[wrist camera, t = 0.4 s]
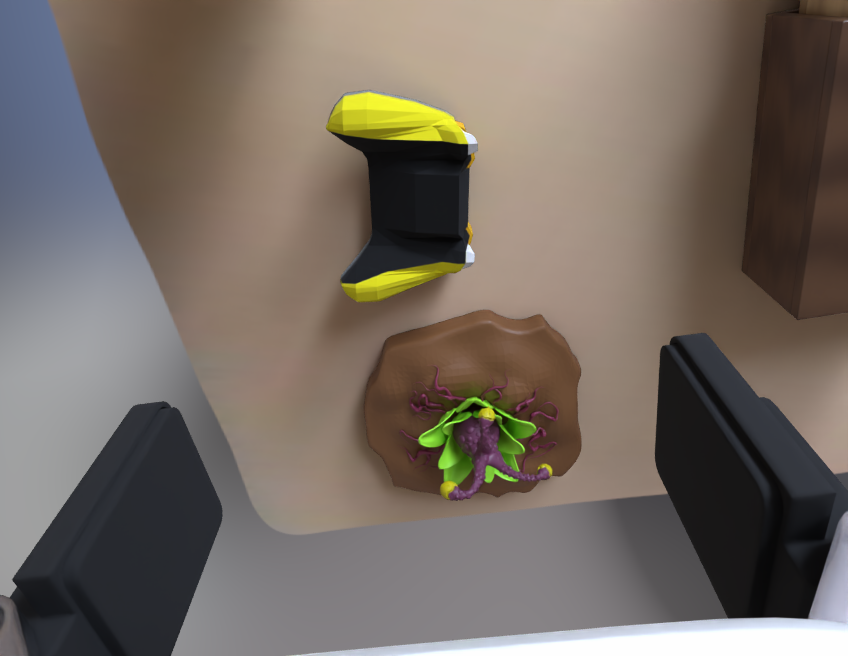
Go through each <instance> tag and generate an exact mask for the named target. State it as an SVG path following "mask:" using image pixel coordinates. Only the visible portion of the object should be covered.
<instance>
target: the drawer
mask: <svg viewBox="0 0 848 656" xmlns="http://www.w3.org/2000/svg"><path fill="white" fill-rule="evenodd" d="M799 14H811V15H824V16H838V17H848V0H800V7H799Z"/></svg>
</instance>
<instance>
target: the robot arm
mask: <svg viewBox="0 0 848 656" xmlns="http://www.w3.org/2000/svg"><path fill="white" fill-rule="evenodd" d="M655 462H656V467H657V470H658V473H659V475H660V478H661V480H662V482H663V484H664V486H665V488H666V490H667V492H668V494H669V496H670V498H671V500H672V502H673V505H674V507H675V509H676V511H677V513H678V515H679V517H680V519H681V521H682V523H683V525H684V527H685V529H686V532H687V534H688V536H689V538H690V540H691V542H692V544H693V546H694V548H695V550H696V552H697V554H698V556H699V558H700V561H701V563H702V565H703V566H704V569H705V571H706V573H707V575H708V577H709V579H710V581H711V583H712V586H713V588H714V590H715V592H716V594H717V596H718V598H719V600H720V602H721V604H722V606H723V608H724V610H725V613H726V615H727V617H728V619H712V620H698V621H684V622H669V623H655V624H641V625H626V626H613V627H603V628H591V629H579V630H569V631H556V632H545V633H534V634H533V633H532V634H521V635H509V636H497V637H487V638H474V639H463V640H452V641H441V642H430V643H419V644H408V645H397V646H387V647H375V648H364V649H354V650H343V651H333V652H321V653H311V654H300V655H290V656H848V490H847V489H846V488H845V487H844V486H843V485H842V484H841V482H840V481H839V480H838V479H837V477H836V476H835V475H834V474H833V473H832V471H831V470H830V469H829V468H828V467H827V465H826V464H825V463H824V462H823V461H822V459H821V458H820V457H819V456H818V455H817V454H816V452H815V451H814V450H813V449H812V448H811V446H810V445H809V444H808V443H807V442H806V440H805V439H804V438H803V437H802V436H801V435H800V433H799V432H798V431H797V430H796V429H795V427H794V426H793V425H792V424H791V423H790V421H789V420H788V419H787V418H786V417H785V415H784V414H783V413H782V412H781V411H780V410H779V408H778V407H777V406H776V405H775V404H774V403H773V402H772V401H771V400H770V399H768V398H765V397H760V398H759V397H758V396H757V394H756V393H755V392H754V391H753V389H752V388H751V387H750V386H749V385H748V383H747V382H746V381H745V380H744V378H743V377H742V376H741V375H740V373H739V372H738V371H737V370H736V369H735V367H734V366H733V365H732V364H731V362H730V361H729V360H728V359H727V358H726V356H725V355H724V354H723V353H722V351H721V350H720V349H719V348H718V347H717V345H716V344H715V343H714V342H713V340H712V339H711V338H710V337H709V336H708V335H707V334H706V333H698V334H691V335H683V336H675V337H673V338H671V341H670V345H665V346H662V348H661V351H660V367H659V386H658V405H657V424H656V443H655ZM221 521H222V506H221V503H220V500H219V498H218V496H217V494H216V491H215V489H214V487H213V485H212V483H211V480H210V478H209V476H208V473H207V471H206V469H205V467H204V464H203V462H202V460H201V458H200V455H199V453H198V451H197V449H196V446H195V445H194V442H193V440H192V438H191V435H190V433H189V431H188V428H187V426H186V424H185V422H184V420H183V417H182V415H181V413H180V411H179V410H178V409H177V408H174V407H173V408H171V406H170V405H169V404H168V403H167V402H164V401H163V402H155V403H147V404H139V405H135V406H133V407H132V408H131V409H130V411H129V412H128V414H127V415H126V417H125V418H124V419H123V421H122V422H121V424H120V425H119V427H118V428H117V429H116V431H115V432H114V434H113V435H112V437H111V438H110V439H109V441H108V442H107V444H106V445H105V447H104V448H103V450H102V451H101V453H100V454H99V455H98V457H97V458H96V460H95V461H94V462H93V464H92V465H91V467H90V468H89V470H88V471H87V473H86V474H85V475H84V477H83V478H82V480H81V481H80V483H79V484H78V486H77V487H76V488H75V490H74V491H73V493H72V494H71V496H70V497H69V499H68V500H67V501H66V503H65V504H64V506H63V507H62V509H61V510H60V512H59V513H58V514H57V516H56V517H55V519H54V520H53V521H52V523H51V524H50V526H49V527H48V529H47V530H46V532H45V533H44V534H43V536H42V537H41V539H40V540H39V542H38V543H37V544H36V546H35V547H34V549H33V550H32V552H31V553H30V555H29V556H28V557H27V559H26V560H25V562H24V563H23V565H22V566H21V568H20V569H19V570H18V572H17V573H16V575H15V576H14V578H13V582H14V583H15V584H16V585H17V588H16V589H15V591H14V592H13V594H12V595H11V597H10V598H8V597H6V596H3V595H0V656H171V653H172V651H173V648H174V646H175V643H176V641H177V638H178V635H179V633H180V630H181V627H182V625H183V622H184V619H185V616H186V614H187V612H188V609H189V606H190V604H191V601H192V598H193V596H194V593H195V590H196V587H197V585H198V582H199V580H200V577H201V575H202V572H203V569H204V567H205V564H206V561H207V559H208V556H209V553H210V550H211V548H212V545H213V543H214V540H215V537H216V535H217V532H218V530H219V527H220V524H221Z"/></svg>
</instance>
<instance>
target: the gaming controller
mask: <svg viewBox="0 0 848 656" xmlns="http://www.w3.org/2000/svg"><path fill="white" fill-rule="evenodd" d="M326 129H327V130H328V131H329V132H331V133H332V134H334V135H335V136H337V137H338V138H339V139H341V140H342V141H344V142H345V143H347V144H349V145H351V146H352V147H354V148H356V149H358V150H360V151H362V152H363V154H364V155H365V157H366V158H367V160H368V168H369V184H370V201H371V217H372V234H371V237H370V239H369V241H368V242H367V243H366V245H365V246H364V248H363V249H362V250H361V252H360V253H359V254H358V256H357V257H356V258H355V259H354V260H353V262H352V263H351V264H350V265H349V267H348V268H347V269H346V270H345V271H344V273H343V274H342V275H341V279H340V282H341V285H342V287H343V289H344V291H345V293H346V294H347V295H348V296H349V297H351V298H352V299H354V300H355V301H357V302H378V301H382V300H384V299H387V298H389V297H391V296H394V295H396V294H398V293H401V292H403V291H405V290H408V289H410V288H412V287H415V286H417V285H420V284H422V283H425V282H427V281H430V280H432V279H435V278H438V277H440V276H443V275H445V274H447V273H457V272H459V271H461V269H464V268H467V267H470V266H471V265H472V264H473V263H474V257H475V254H474V252H473V251H472V249H471V248H470V246H469V245H470V243H471V240H472V236H473V233H472V227H471V225H470V224H469V222H468V198H469V168H470V166H471V164H472V163H473V161H474V159H475V156H474V152H476V151H478V143H477V141H476V139H475V137H474V136H473V135H471V134H468V133H467V132H466V130H465V127H464V125H463V123H460V122H457V121H455V119H454V117H453V115H451V114H450V113H448V112H446V111H445V110H442V109H439V108H437V107H434V106H431V105H428V104H426V103H423V102H420V101H417V100H414V99H410V98H405V97H400V96H396V95H391V94H386V93H382V92H377V91H372V90H365V91H358V92H350V93H345V94H344V95H343V96H342V97H341V98H340V99H339V101H338V102H337V103H336V104H335V105H334V107H333V110H332V112H331V114H330V117H329V120H328V124H327V126H326Z"/></svg>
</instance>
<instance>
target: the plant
mask: <svg viewBox="0 0 848 656" xmlns="http://www.w3.org/2000/svg"><path fill="white" fill-rule="evenodd" d="M580 376H581V368H580V365H579V363H578V360H577V358H576V357H575V355H573V353H572V352H571V350H570V347H569V345H568V343H567V342H566V340H565V339H564V337H563V336H562V335H561V334H560V333H558V332H557V331H555V330H554V329H553V328H551V327H550V326H549V324H548V323H547V322H546V321H545V319H544V318H543V316H542V315H535V316H532V317H530V318H527V319H522V320H514V319H508V318H504V317H502V316H499V315H497V314H495V313H494V312H492V311H490V310H481V311H476V312H472V313H469V314H466V315H464V316H460V317H456V318H452V319H449V320H446V321H443V322H439V323H436V324H433V325H430V326H427V327H423V328H419V329H414V330H411V331H406V332H403V333H400V334H397V335H394V336H391V337H389V338H387V340H386V341H385V344H384V347H383V350H382V354H381V357H380V361H379V363H378V366H377V368H376V370H375V371H374V372H373V373H372V375H371V376H370V378H369V381H368V384H367V389H366V395H365V402H364V414H365V421H366V431H367V440H368V444H369V446H370V447H371V448H372V449H373V450H374V451H375V452H376V453H377V454H378V455H380V457H381V458H382V459H383V461H384V463H385V464H386V467H387V469H388V471H389V474H390V476H391V478H392V481H393V485H394V486H396V487H402V488H406V489H410V490H414V491H419V492H428V493H434V494H439V495H442V496H443V497H444V498H445V499H447V500H455V501H457V500H463V499H465V498H467V499H470V498H471V496H472V495H474V494H475V493H479V492H481V493H488V494H491V495H493V496H495V497H500V496H501V495H503V494H505V493H507V492H522V493H526V492H530V491H531V490H532V489H533V488H534V487H535V486H536V485H537V483H538V482H539V481H540V480H547V479H549V478H550V477H551V476H562V475H564V474H565V473H566V472H567V471H568V470H569V469H570V468H571V467H572V465H573V464H574V463H575V462H576V460H577V458H578V457H579V455H580V452H581V434H580V428H579V424H578V402H577V387H578V382H579V379H580Z"/></svg>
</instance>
